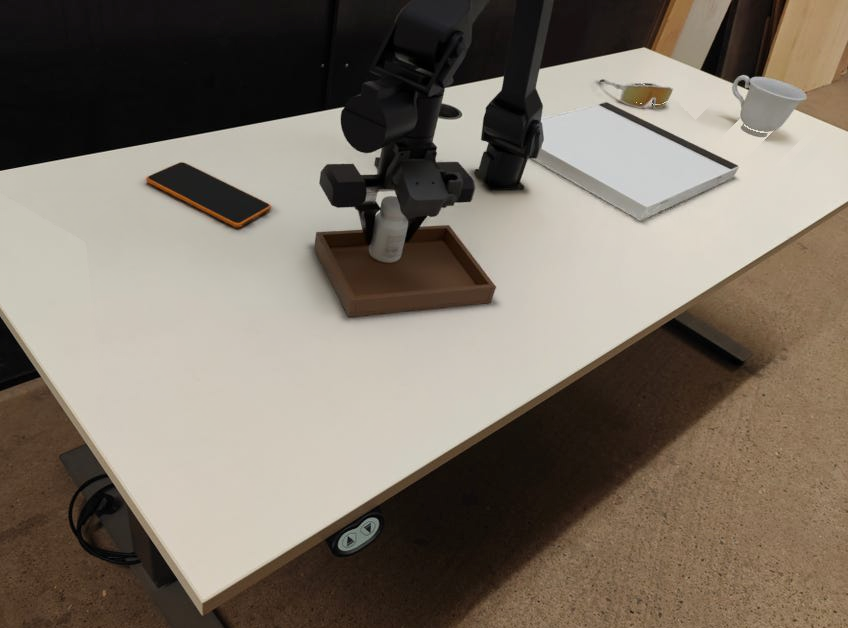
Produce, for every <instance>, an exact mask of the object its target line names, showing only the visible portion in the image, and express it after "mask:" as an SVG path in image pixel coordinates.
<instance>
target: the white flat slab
mask: <svg viewBox="0 0 848 628" xmlns="http://www.w3.org/2000/svg"><path fill="white" fill-rule="evenodd" d="M541 122H542V127H543V135H544V141H543V143H542V147H541V149H540V151H539V154H538V156H537V158H536V159H535V158H530V159H531V160H533V161H535V162H537V164H540V165H542V166H543V167H545V168H547V169H549V170H550V171H552V172H554V173H556V174H557V175H559V176H561V177H563V178H565V179H566V180H568V181H569V182H570V183H571V182H572V183H573V184H575V185H576V186H578V187H580V188H582V189H584V190H586V191H587V192H589V193H591V194H592V195H594V196H596V197H598V198H599V199H601V200H603V201H605V202H606V203H608V204H610V205H612V206H613V207H615V208H617V209H619V210H620V211H622V212H624V213H626V214H628V215H629V216H631V217H633V218H635V219H637V220H638V221H640V222H641V221H644V220H646V219H647V218H649V217H652V216H654V215H656V214H658V213H660V212H662V211H664V210H667V209H669V208H671V207H673V206H675V205H678V204H680V203H682V202H684V201H686V200H688V199H690V198H693V197H695V196H697V195H699V194H701V193H704V192H706V191H708V190H711V189H712V188H714V187H716V186H719V185H721V184H723V183H724V182H727V181H729V180H731V179H733V178H734V177H735V175H736V174H737V172H738V170H739V169H740V166H739V165H738V164H736V163H734V162H732V161H730V160H728V159H725V158H723V157H722V156H720V155H718V154H716V153H714V152H711V151H709V150H707V149H705V148H703V147H701V146H699V145H696V144H695V143H693V142H691V141H689V140H686V139H684V138H682V137H680V136H678V135H675V134H674V133H671V132H670V131H668V130H666V129H663V128H662V127H659V126H657V125H655V124H653V123H651V122H649V121H647V120H645V119H642V118H640V117H639V116H636V115H635V114H632V113H630V112H628V111H626V110H624V109H622V108H620V107H617V106H615V105H614V104H612V103H610V102H605V101H604V102H601V103H597V104H591V105H589V106H584V107H579V108H575V109H572V110H567V111H564V112H559V113H556V114H551V115H547V116H542V117H541Z"/></svg>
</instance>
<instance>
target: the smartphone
mask: <svg viewBox="0 0 848 628" xmlns="http://www.w3.org/2000/svg"><path fill="white" fill-rule="evenodd" d="M145 180H146V182H147V183H148V184H149V185H151V186H154V187H156V188H158V189H160V190H162V191H163V192H165V193H167V194H169V195H171V196H173V197H175V198H178V199H179V200H181V201H183V202H185V203H187V204H189V205H191V206H193V207H195V208H197V209H199V210H201V211H203V212H205V213H207V214H209V215H210V216H213V217H214V218H216V219H218V220H220V221H223V222H224V223H226V224H228V225H229V226H232V227H233V228H242V227H243V226H245V225H246V224H248V223H250V222H251V221H253V220H255V219H257V218H258V217H260V216H262V215H263V214H265V213H268V212H269V211H270V210H271V209H272V206H271V204H270V203H268V202H266V201H264V200H262V199H260V198H258V197H256V196H254V195H251V194H249V193H247V192H246V191H243V190H242V189H240V188H237V187H235V186H233V185H231V184H229V183H227V182H225V181H223V180H221V179H220V178H217V177H215V176H213V175H211V174H209V173H207V172H205V171H203V170H201V169H199V168H196V167H195V166H193V165H191V164H188V163H187V162H184V161H180V162H178V163H175V164H173V165H170V166H168V167H166V168H164V169H161V170H159V171H156V172H154V173H152V174H150V175H148V176H146V178H145Z"/></svg>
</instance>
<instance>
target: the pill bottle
mask: <svg viewBox="0 0 848 628" xmlns="http://www.w3.org/2000/svg"><path fill="white" fill-rule="evenodd" d="M379 207H380V208H381V209H380V210H379V211H378V212H377V213H376V216H375V224H374V231H373V238H372V241H371V244H370V245H369V253H370V255H371V257H373V258H374V259H376V260H378V261H380V262H385V263H392V262H396V261H397V260H399V259H400V257H401V254H402V250H403V246H404V241H405V237H406V233H407V228H408V220H407V218H406V217H405V216H404V215H403V214H402V213H401V210H400V205H399V202H398V199H397V196H396V195H389V196H385V197H383V198H382V199H381V202H380V206H379Z"/></svg>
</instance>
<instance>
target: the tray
mask: <svg viewBox="0 0 848 628" xmlns="http://www.w3.org/2000/svg"><path fill="white" fill-rule="evenodd" d="M313 249H314V250H315V253H316V255H317V257H318V259H319V261H320V263H321V265H322V267H323V268H324V271H325V273H326V275H327V277H328V279H329V281H330V283H331V285H332V287H333V289H334V292H335V293H336V295H337V297H338V299H339V301H340V303H341V306H342V307H343V310H344V311H345V313H346V315H347V317H348V318H352V317H361V316H372V315H381V314H382V315H383V314H390V313H391V314H392V313H401V312H411V311H420V310H430V309H440V308H442V309H443V308H450V307H459V306H460V307H462V306H469V305H470V306H471V305H480V304H488V303H489V304H490V303H492V301H493V297H494V295H495V292H496V289H497V285H495V283H494V282H493V281H492V280H491V278H490V277H489V276H488V274H487V272H486V271H485V270H484V269H483V268H482V267H481V265H480V263H478V261H477V260H476V258H475V257H474V256H473V255H472V253H471V251H470V250H469V249H468V248H467V246H466V245H465V244H464V243H463V241H462V240H461V238H459V236H458V234H456V232H455V231H454V229H452V227H451V226H450V225H449V224H443V225H423V226H422V225H420V227H419V228H418V230H417V231H416V233H415V234H414V235H413V237H412V238H411V240H410V241H409V242H408V243H406V242H405V241H404V246H403V250H402V254H401V257H400V259H399V260H397V261H396V262H392V263H385V262H380V261H378V260H376V259H374V258H373V257H371V255H370V253H369V245H367V244H366V242H365V239H364V235H363V230H362V229H350V230H349V229H348V230H347V229H346V230H329V231H327V230H326V231H316V232H315V238H314V247H313Z"/></svg>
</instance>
